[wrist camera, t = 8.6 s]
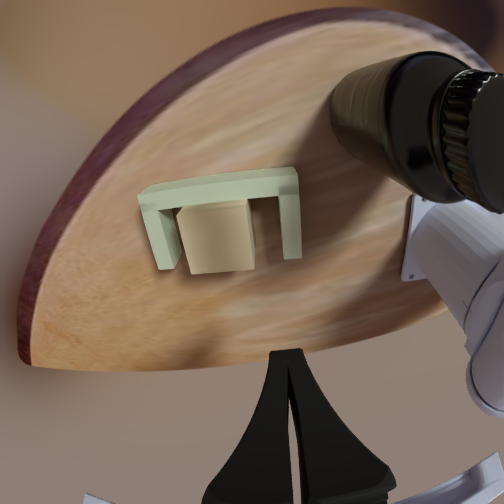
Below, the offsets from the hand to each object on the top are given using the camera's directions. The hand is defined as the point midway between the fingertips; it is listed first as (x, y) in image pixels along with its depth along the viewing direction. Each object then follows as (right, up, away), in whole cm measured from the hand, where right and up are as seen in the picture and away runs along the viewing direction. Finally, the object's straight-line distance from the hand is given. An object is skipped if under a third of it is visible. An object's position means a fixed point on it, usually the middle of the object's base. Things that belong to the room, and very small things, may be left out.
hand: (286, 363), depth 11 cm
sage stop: (-3, +7, +8) cm, 11 cm away
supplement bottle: (+7, +14, +4) cm, 16 cm away
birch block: (-4, +7, +8) cm, 11 cm away
